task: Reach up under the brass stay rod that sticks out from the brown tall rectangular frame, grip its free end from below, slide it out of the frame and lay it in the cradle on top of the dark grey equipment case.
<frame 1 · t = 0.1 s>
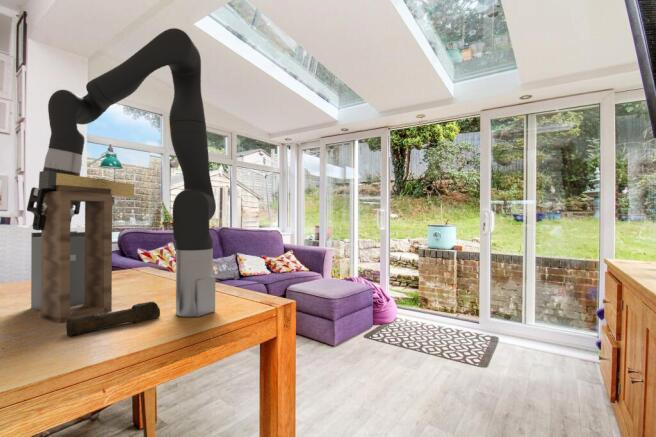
hand: (51, 229, 85), 22 cm above the table, tool pointing down, fingers open, 8 cm apart
hand tool: (116, 327, 77), on the table
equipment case: (61, 305, 95), on the table
stay rod: (94, 193, 90), point 32 cm above the table, touching hand, brown tall rectangular frame
brown tall rectangular frame: (77, 314, 86), on the table
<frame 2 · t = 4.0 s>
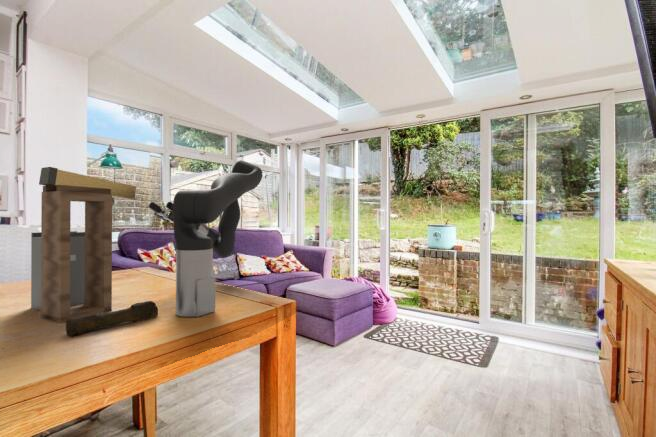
hand: (158, 204, 107), 30 cm above the table, tool pointing upward, fingers open, 8 cm apart
stay rod: (94, 193, 90), point 32 cm above the table, tilted 7°, touching brown tall rectangular frame
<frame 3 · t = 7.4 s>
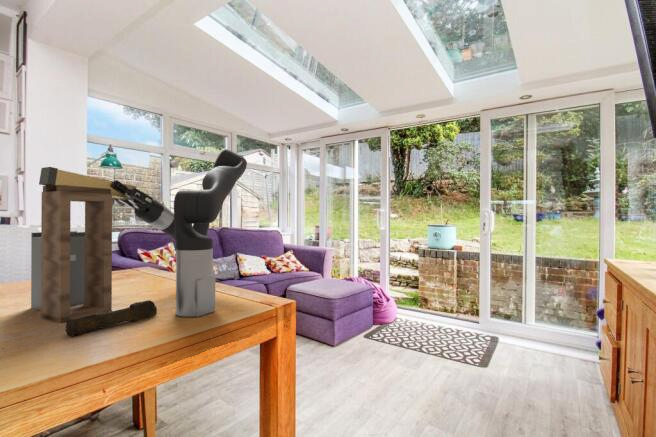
hand: (108, 183, 93), 35 cm above the table, tool pointing upward
stay rod: (94, 193, 90), point 32 cm above the table, tilted 7°, touching gripper
everything else where it was.
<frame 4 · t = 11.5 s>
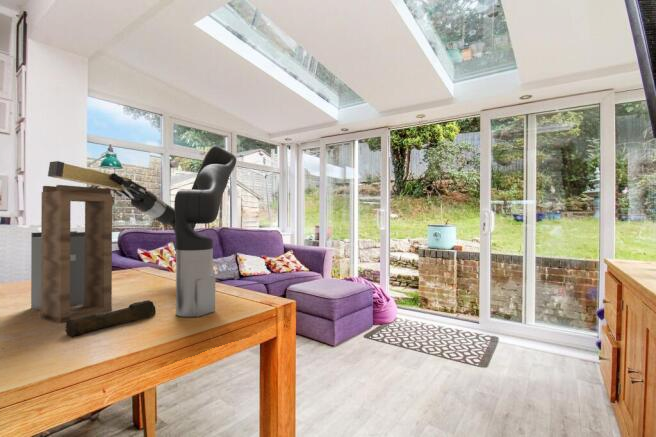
hand: (107, 175, 106), 39 cm above the table, tool pointing upward, fingers closed on stay rod, 4 cm apart
stay rod: (95, 184, 103), point 36 cm above the table, tilted 7°, touching gripper
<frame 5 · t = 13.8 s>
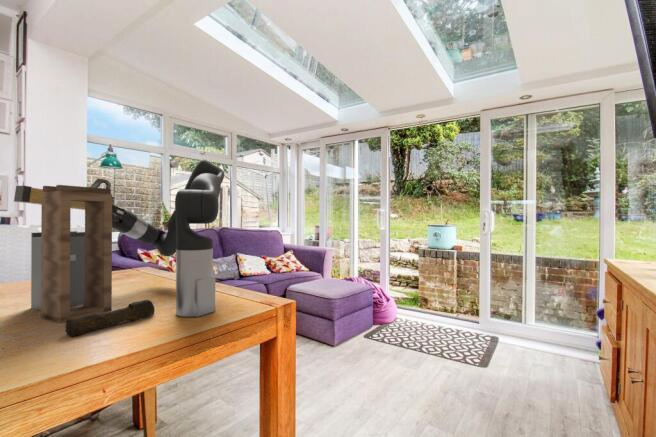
hand: (81, 197, 99), 32 cm above the table, tool pointing upward, fingers closed on stay rod, 4 cm apart
stay rod: (68, 207, 96), point 28 cm above the table, tilted 6°, touching gripper
when the fingers open (25 cm above the table, at t = 15.4 s): stay rod drops 2 cm, resting on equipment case.
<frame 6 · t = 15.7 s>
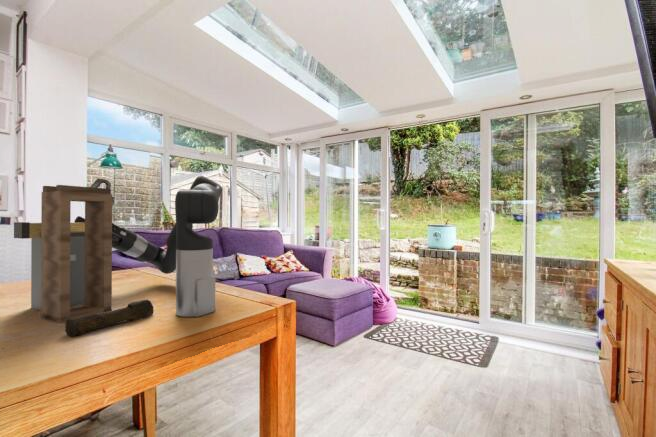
hand: (83, 218, 100), 25 cm above the table, tool pointing upward, fingers open, 7 cm apart
stay rod: (68, 236, 96), point 20 cm above the table, touching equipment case
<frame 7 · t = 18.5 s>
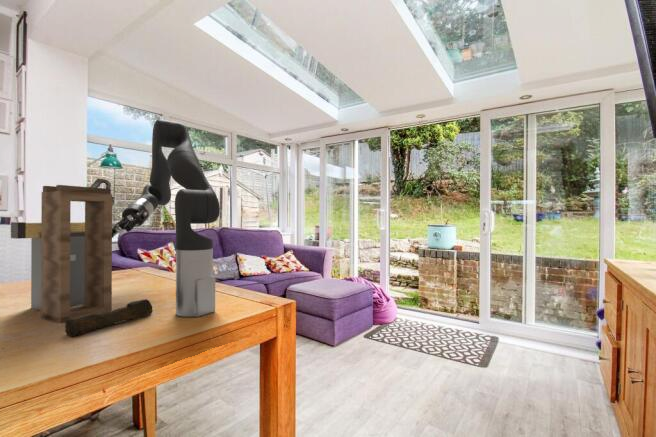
hand: (115, 234, 105), 20 cm above the table, tool tilted 65°, fingers open, 8 cm apart
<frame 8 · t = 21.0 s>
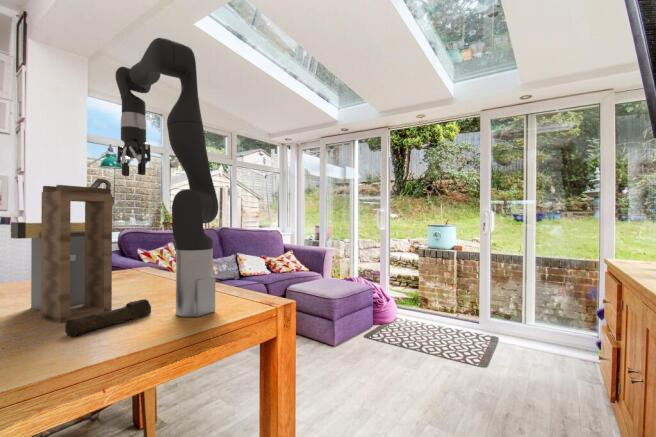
hand: (133, 175, 112), 40 cm above the table, tool pointing down, fingers open, 8 cm apart
at the end: stay rod inside the target area on the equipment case (0.4 cm from its centre), point 20.0 cm above the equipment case's base; stay rod tilted 0°; the gripper is holding nothing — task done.
